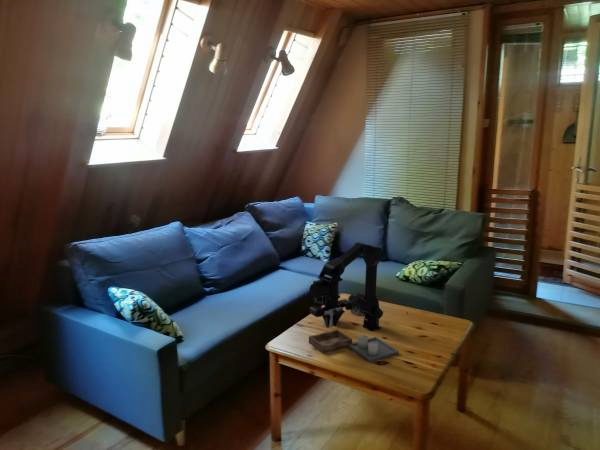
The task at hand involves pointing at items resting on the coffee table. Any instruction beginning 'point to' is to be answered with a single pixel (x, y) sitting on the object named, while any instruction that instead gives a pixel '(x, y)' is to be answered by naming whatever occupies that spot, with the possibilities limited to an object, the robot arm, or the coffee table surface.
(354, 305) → the crystal cluster
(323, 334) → the walnut box
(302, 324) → the coffee table surface
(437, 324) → the coffee table surface
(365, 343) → the stone
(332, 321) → the stone
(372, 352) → the stone
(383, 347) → the slate tray
